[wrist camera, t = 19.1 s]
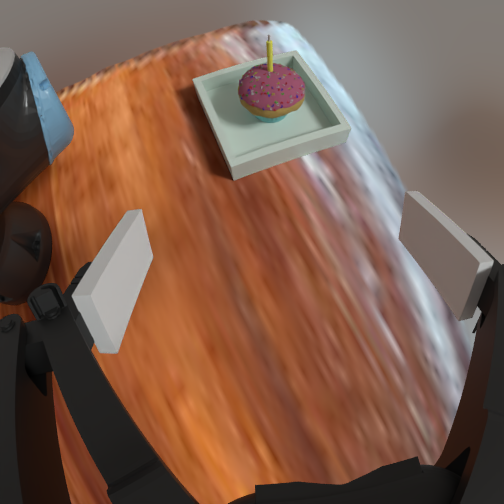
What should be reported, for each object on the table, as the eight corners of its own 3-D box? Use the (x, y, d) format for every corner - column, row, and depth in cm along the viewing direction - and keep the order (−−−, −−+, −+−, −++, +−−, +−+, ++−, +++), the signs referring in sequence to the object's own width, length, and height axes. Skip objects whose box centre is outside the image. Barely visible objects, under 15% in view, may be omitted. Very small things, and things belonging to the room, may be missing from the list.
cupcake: (235, 93, 42) (227, 29, 30) (293, 84, 42) (299, 22, 30) (246, 140, 40) (240, 76, 28) (310, 130, 40) (323, 67, 28)
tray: (196, 94, 43) (192, 79, 40) (294, 65, 44) (296, 50, 41) (233, 180, 40) (230, 167, 36) (345, 142, 40) (351, 128, 37)
